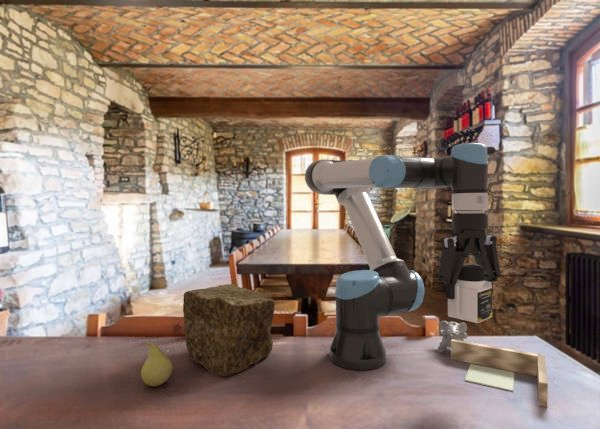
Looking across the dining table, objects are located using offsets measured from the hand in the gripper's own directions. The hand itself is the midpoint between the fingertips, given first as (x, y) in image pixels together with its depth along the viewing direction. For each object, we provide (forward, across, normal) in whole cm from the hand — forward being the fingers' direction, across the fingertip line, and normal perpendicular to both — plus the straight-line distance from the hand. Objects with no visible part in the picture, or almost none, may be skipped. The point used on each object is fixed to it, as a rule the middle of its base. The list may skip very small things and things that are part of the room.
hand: (470, 310), depth 86 cm
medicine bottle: (+2, 0, 0) cm, 2 cm away
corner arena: (+18, +7, +1) cm, 19 cm away
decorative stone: (+17, -50, +35) cm, 63 cm away
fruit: (+17, -68, +26) cm, 75 cm away
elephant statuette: (+18, +12, +19) cm, 29 cm away
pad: (+18, +8, +2) cm, 19 cm away
